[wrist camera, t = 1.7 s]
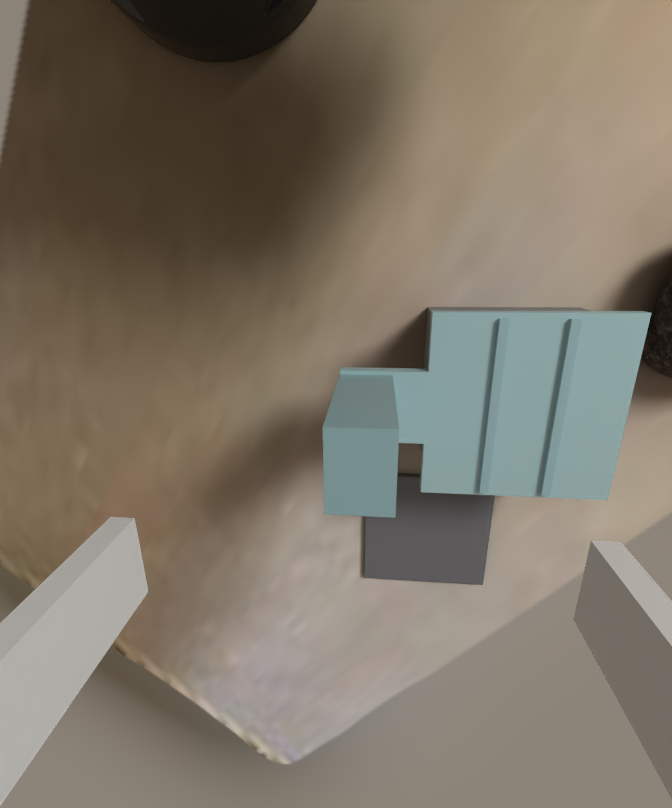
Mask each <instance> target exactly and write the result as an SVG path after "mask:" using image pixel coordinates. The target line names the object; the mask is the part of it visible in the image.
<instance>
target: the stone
mask: <svg viewBox="0 0 672 808" xmlns="http://www.w3.org/2000/svg"><path fill="white" fill-rule="evenodd" d="M641 357H642V359H643V360H644V361H645V362H646V364H647V365H649V366H650V367H651V368H653V369H654V370H656V371H657V372H659V373H661V374H663V375H666V376H668V377H671V378H672V271H671V272H670V274H669V276H668V277H667V279H666V281H665V282H664V284H663V286H662V288H661V290H660V293H659V296H658V298H657V301H656V310H655V316H654V322H653V324H652V326H651V329H650V331H649V333H648V335H647V337H646V339H645V343H644V347H643V351H642V356H641Z"/></svg>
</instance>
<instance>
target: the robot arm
mask: <svg viewBox="0 0 672 808" xmlns="http://www.w3.org/2000/svg"><path fill="white" fill-rule="evenodd" d="M111 1H112V2H113V3H114V4H115V5H116V6H117V7H118V8H119V9H120V10H121V11H122V12H123V13H124V14H125V15H126V16H127V17H128V18H129V19H130V20H131V21H132V22H133V23H134V24H135V25H136V26H137V27H139V28H140V29H141V30H142V31H143V32H144V33H145V34H146V35H148V36H149V37H150V38H151V39H153V40H154V41H156V42H157V43H159V44H160V45H162V46H164V47H165V48H167V49H169V50H171V51H173V52H175V53H177V54H180V55H183V56H185V57H189V58H192V59H196V60H202V61H210V62H226V61H234V60H239V59H243V58H247V57H250V56H253V55H255V54H258V53H260V52H262V51H264V50H266V49H268V48H269V47H271V46H273V45H274V44H276V43H277V42H279V41H280V40H281V39H283V38H284V37H285V36H286V35H288V34H289V33H290V32H291V31H292V30H293V29H294V28H295V27H296V26H297V25H298V24H299V23H300V22H301V21H302V19H303V18H304V17H305V16H306V15H307V13H308V12H309V11H310V9H311V8H312V7H313V5H314V4H315V2H316V0H111ZM147 593H148V587H147V582H146V577H145V571H144V566H143V561H142V555H141V550H140V545H139V539H138V534H137V529H136V524H135V518H118V517H110V518H109V519H108V520H107V521H106V522H105V523H104V524H103V525H102V526H101V527H100V528H99V529H98V530H97V531H96V532H94V533H93V534H92V535H91V536H90V537H89V538H88V539H87V540H86V541H85V542H84V543H83V544H82V545H81V546H80V547H79V548H78V549H77V550H76V551H75V552H74V553H73V554H72V555H71V556H70V557H68V558H67V559H66V560H65V561H64V562H63V563H62V564H61V565H60V566H59V567H58V568H57V569H56V570H55V571H54V572H53V573H52V574H51V575H50V576H49V577H48V578H47V579H46V580H45V581H44V582H43V583H41V584H40V585H39V586H38V587H37V588H36V589H35V590H34V591H33V592H32V593H31V594H30V595H29V596H28V597H27V598H26V599H25V600H24V601H23V602H22V603H21V604H20V605H19V606H18V607H17V608H15V609H14V610H13V611H12V612H11V613H10V614H9V615H8V616H7V617H6V618H5V619H4V620H3V621H2V622H1V623H0V806H1V804H2V803H3V801H4V800H5V798H6V797H7V795H8V794H9V792H10V791H11V790H12V788H13V787H14V785H15V784H16V782H17V781H18V779H19V778H20V776H21V775H22V774H23V772H24V771H25V769H26V768H27V766H28V765H29V763H30V762H31V761H32V759H33V758H34V756H35V755H36V753H37V752H38V750H39V749H40V748H41V746H42V745H43V743H44V742H45V740H46V739H47V737H48V736H49V735H50V733H51V731H52V730H53V729H54V727H55V726H56V724H57V723H58V721H59V720H60V719H61V717H62V716H63V714H64V713H65V711H66V710H67V709H68V707H69V706H70V704H71V703H72V701H73V700H74V698H75V697H76V696H77V694H78V693H79V691H80V690H81V688H82V687H83V685H84V684H85V683H86V681H87V680H88V678H89V677H90V675H91V674H92V672H93V671H94V670H95V668H96V667H97V665H98V664H99V662H100V661H101V659H102V658H103V657H104V655H105V654H106V652H107V651H108V649H109V648H110V646H111V645H112V643H113V642H114V641H115V639H116V638H117V636H118V635H119V633H120V632H121V630H122V629H123V628H124V626H125V625H126V623H127V622H128V620H129V619H130V617H131V616H132V615H133V613H134V612H135V610H136V609H137V607H138V606H139V604H140V603H141V602H142V600H143V599H144V597H145V596H146V594H147ZM574 621H575V623H576V625H577V627H578V628H579V630H580V632H581V634H582V635H583V637H584V639H585V641H586V643H587V645H588V647H589V648H590V650H591V652H592V654H593V655H594V657H595V659H596V661H597V663H598V665H599V666H600V669H601V670H602V672H603V674H604V676H605V678H606V680H607V681H608V683H609V685H610V687H611V688H612V691H613V692H614V694H615V696H616V698H617V700H618V702H619V703H620V705H621V707H622V709H623V711H624V712H625V714H626V716H627V718H628V720H629V722H630V723H631V725H632V727H633V729H634V731H635V732H636V734H637V736H638V738H639V740H640V742H641V743H642V745H643V747H644V749H645V751H646V753H647V755H648V756H649V758H650V760H651V762H652V764H653V766H654V767H655V769H656V771H657V773H658V775H659V776H660V778H661V780H662V782H663V784H664V786H665V787H666V789H667V791H668V793H669V795H670V797H671V798H672V601H671V600H670V599H669V598H668V596H667V595H666V594H665V593H664V592H663V591H662V589H660V587H659V586H658V585H657V584H656V583H655V581H654V580H653V579H652V578H651V577H650V576H649V574H648V573H647V572H646V571H645V570H644V569H643V568H642V566H641V565H640V564H639V563H638V562H637V561H636V559H635V558H634V557H633V556H632V555H631V554H630V552H629V551H628V550H627V549H626V548H625V547H624V545H623V544H622V543H621V542H607V541H591V544H590V548H589V553H588V557H587V562H586V566H585V571H584V575H583V580H582V584H581V589H580V593H579V598H578V602H577V607H576V611H575V616H574Z"/></svg>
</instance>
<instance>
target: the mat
mask: <svg viewBox="0 0 672 808" xmlns="http://www.w3.org/2000/svg"><path fill="white" fill-rule="evenodd" d="M494 496H495V495H475V494H451V493H426V492H421V491H420V475H405V474H397V494H396V516H395V518H393V517H372V516H366V525H365V578H379V579H395V580H412V581H428V582H445V583H462V584H478V585H483V579H484V572H485V564H486V557H487V549H488V542H489V534H490V527H491V519H492V511H493V504H494Z"/></svg>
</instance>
